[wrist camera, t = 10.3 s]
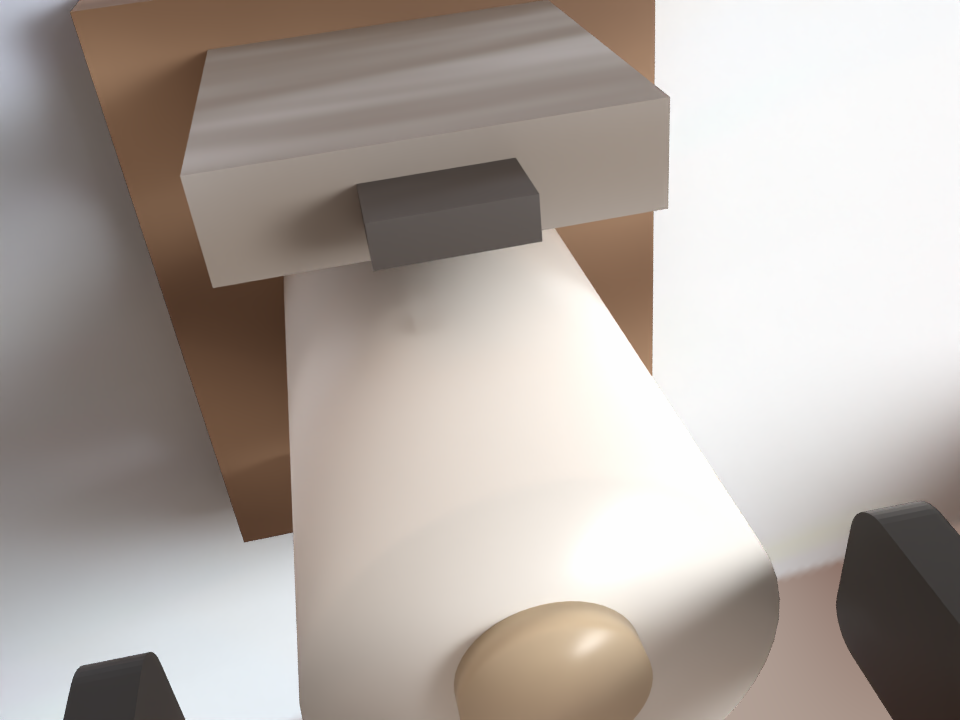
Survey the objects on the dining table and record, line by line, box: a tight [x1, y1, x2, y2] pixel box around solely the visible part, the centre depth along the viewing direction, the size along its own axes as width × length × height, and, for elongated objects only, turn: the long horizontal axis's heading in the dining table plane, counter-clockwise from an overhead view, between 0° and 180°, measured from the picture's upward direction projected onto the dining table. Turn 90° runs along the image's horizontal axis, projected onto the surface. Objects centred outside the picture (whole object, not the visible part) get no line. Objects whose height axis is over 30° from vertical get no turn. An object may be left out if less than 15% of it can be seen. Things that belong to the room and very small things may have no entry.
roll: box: [284, 228, 780, 720], centre depth 15 cm, size 6×6×10 cm
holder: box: [70, 0, 670, 542], centre depth 16 cm, size 12×10×9 cm
